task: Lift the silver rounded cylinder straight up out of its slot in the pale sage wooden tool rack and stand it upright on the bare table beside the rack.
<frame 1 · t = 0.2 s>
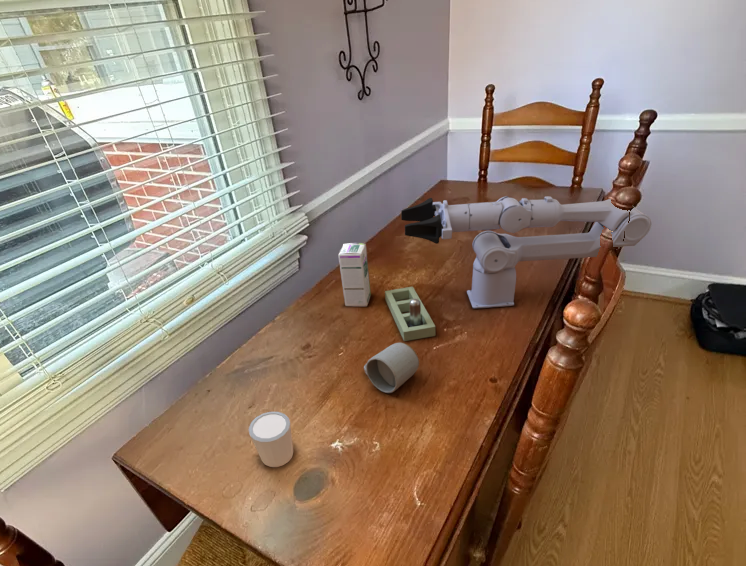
hand: (403, 222, 103), 21 cm above the table, tool horizontal, fingers open, 7 cm apart
rack: (408, 316, 111), on the table
syrup box: (357, 301, 120), on the table
ceramic mug: (388, 379, 94), on the table
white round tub: (277, 454, 82), on the table
silver rounded cylinder: (415, 329, 107), resting in rack
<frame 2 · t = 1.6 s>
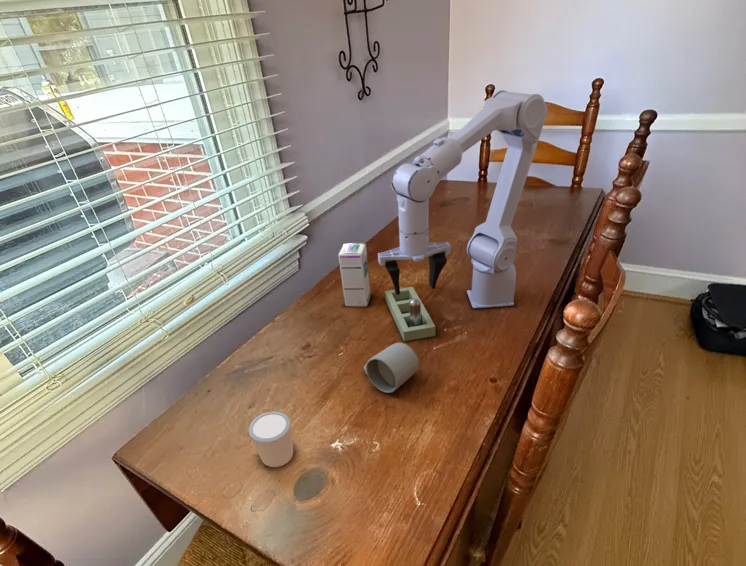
hand: (414, 289, 101), 10 cm above the table, tool pointing down, fingers open, 7 cm apart
nothing on the table moved.
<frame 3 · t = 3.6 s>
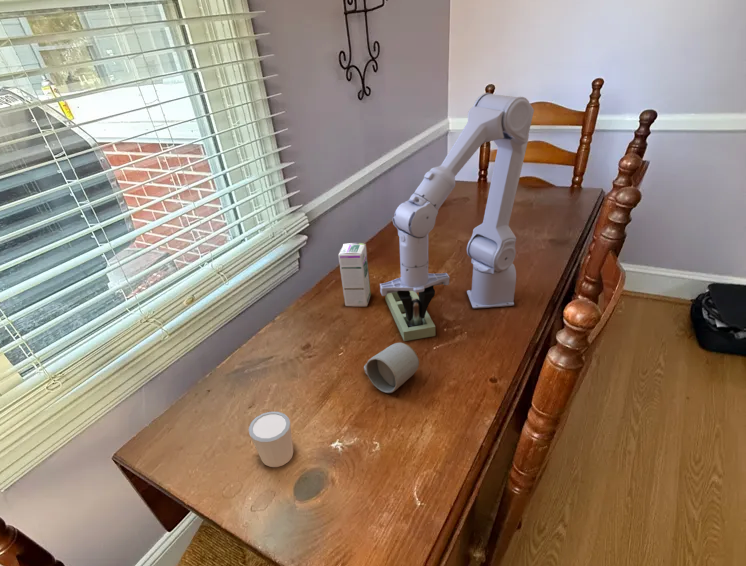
hand: (415, 317, 105), 3 cm above the table, tool pointing down, fingers closed on silver rounded cylinder, 2 cm apart
silver rounded cylinder: (415, 329, 107), resting in rack, touching gripper
everything else where it was.
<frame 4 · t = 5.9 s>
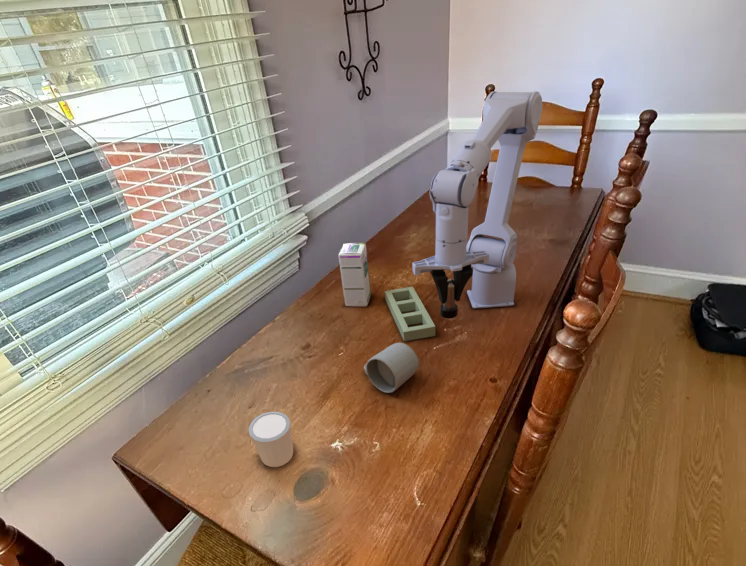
hand: (449, 299, 96), 10 cm above the table, tool pointing down, fingers closed on silver rounded cylinder, 2 cm apart
silver rounded cylinder: (448, 314, 98), point 7 cm above the table, touching gripper
everything else where it was.
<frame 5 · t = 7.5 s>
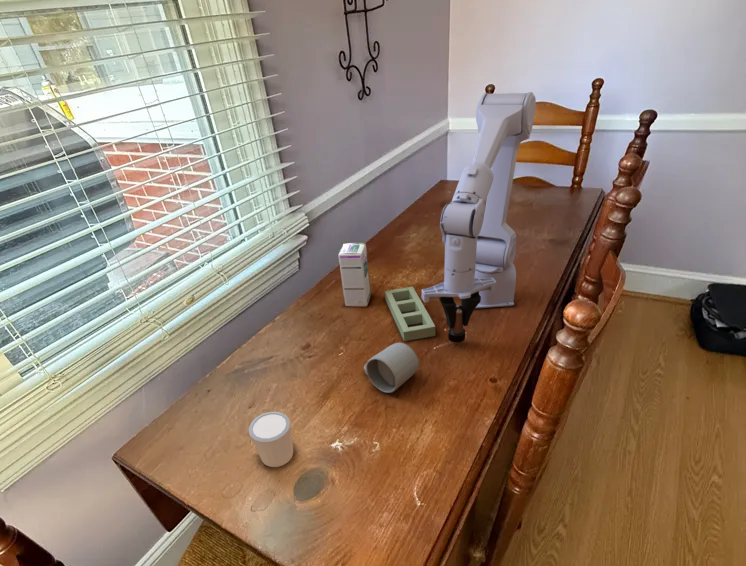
hand: (457, 324, 98), 5 cm above the table, tool pointing down, fingers closed on silver rounded cylinder, 2 cm apart
silver rounded cylinder: (456, 338, 100), point 2 cm above the table, touching gripper
everything else where it was.
when the fingers open (3 cm above the table, at t = 8.3 s): silver rounded cylinder stays where it is, on the table.
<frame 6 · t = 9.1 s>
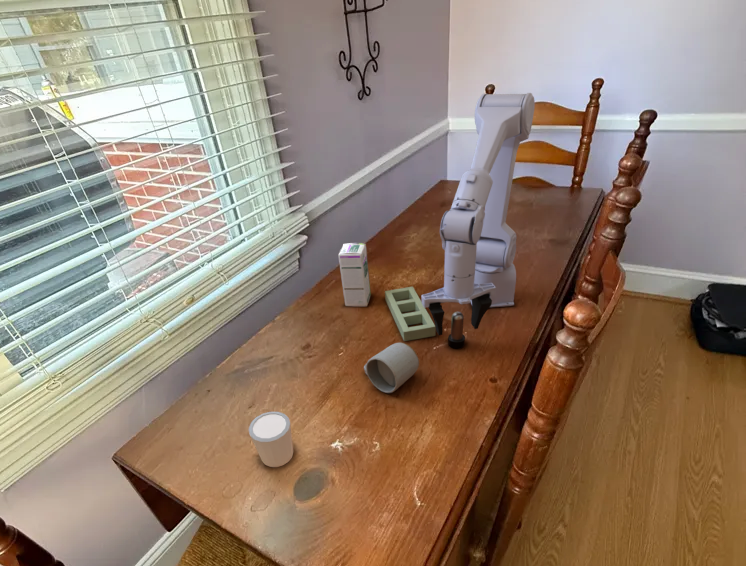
hand: (456, 329, 99), 4 cm above the table, tool pointing down, fingers open, 7 cm apart
silver rounded cylinder: (456, 344, 101), on the table
everything else where it was.
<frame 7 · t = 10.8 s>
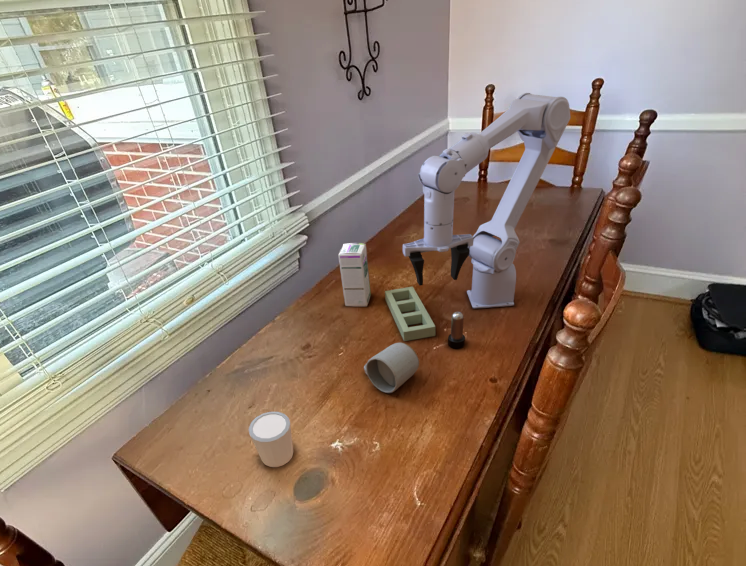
hand: (436, 280, 103), 10 cm above the table, tool pointing down, fingers open, 7 cm apart
nothing on the table moved.
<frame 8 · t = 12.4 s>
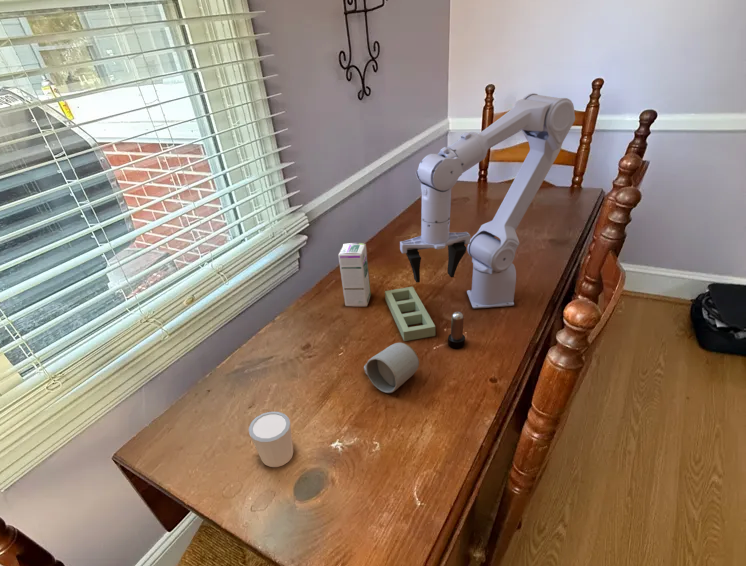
hand: (433, 277, 104), 10 cm above the table, tool pointing down, fingers open, 7 cm apart
nothing on the table moved.
at the end: silver rounded cylinder inside the target area (0.0 cm from its centre), on the table; silver rounded cylinder tilted 0°; silver rounded cylinder touching table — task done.
